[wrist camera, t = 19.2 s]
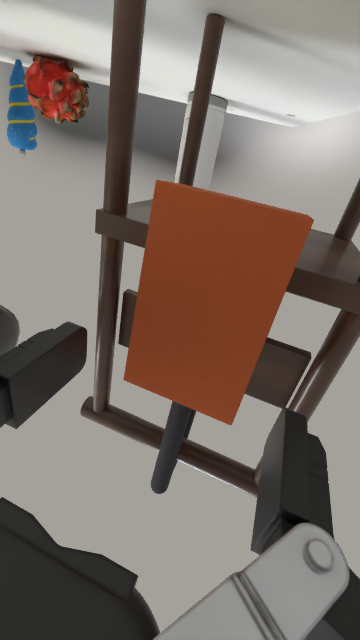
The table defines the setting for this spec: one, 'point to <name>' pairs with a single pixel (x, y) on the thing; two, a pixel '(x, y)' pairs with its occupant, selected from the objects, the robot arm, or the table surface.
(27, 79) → the dragon fruit
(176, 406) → the orange open padlock
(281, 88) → the table surface
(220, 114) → the travel mug
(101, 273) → the chair
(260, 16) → the table surface
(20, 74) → the ornament
